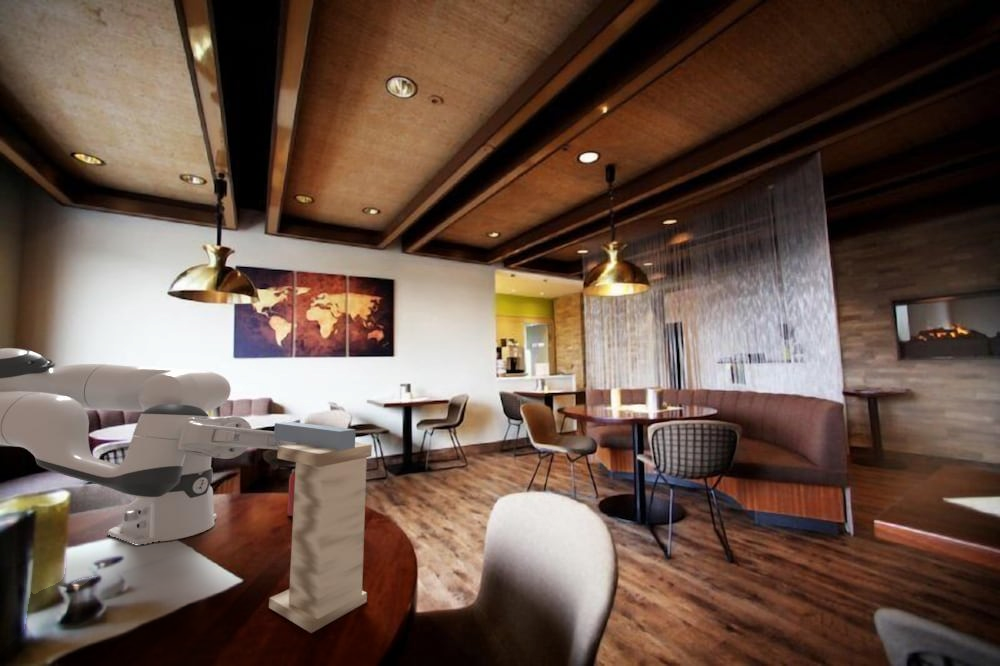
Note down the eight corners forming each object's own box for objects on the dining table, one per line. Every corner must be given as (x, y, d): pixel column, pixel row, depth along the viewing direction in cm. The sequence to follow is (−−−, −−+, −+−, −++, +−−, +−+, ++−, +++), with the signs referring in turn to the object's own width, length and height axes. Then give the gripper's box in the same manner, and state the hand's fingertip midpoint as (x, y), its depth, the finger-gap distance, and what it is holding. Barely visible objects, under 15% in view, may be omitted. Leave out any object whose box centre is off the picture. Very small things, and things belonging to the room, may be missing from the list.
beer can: (303, 519, 108) (305, 472, 109) (281, 517, 109) (284, 471, 110) (319, 511, 114) (321, 467, 115) (298, 509, 115) (300, 466, 117)
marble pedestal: (268, 607, 67) (277, 446, 70) (324, 581, 75) (330, 438, 78) (311, 633, 60) (319, 453, 63) (366, 602, 69) (371, 444, 71)
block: (273, 439, 77) (274, 423, 77) (289, 437, 79) (290, 421, 80) (339, 450, 66) (339, 431, 66) (354, 447, 68) (355, 429, 69)
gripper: (271, 454, 95) (305, 457, 88) (167, 449, 79) (199, 452, 72) (277, 427, 97) (311, 427, 90) (177, 416, 81) (209, 416, 74)
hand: (260, 438), depth 81 cm, fingers open, 8 cm apart
